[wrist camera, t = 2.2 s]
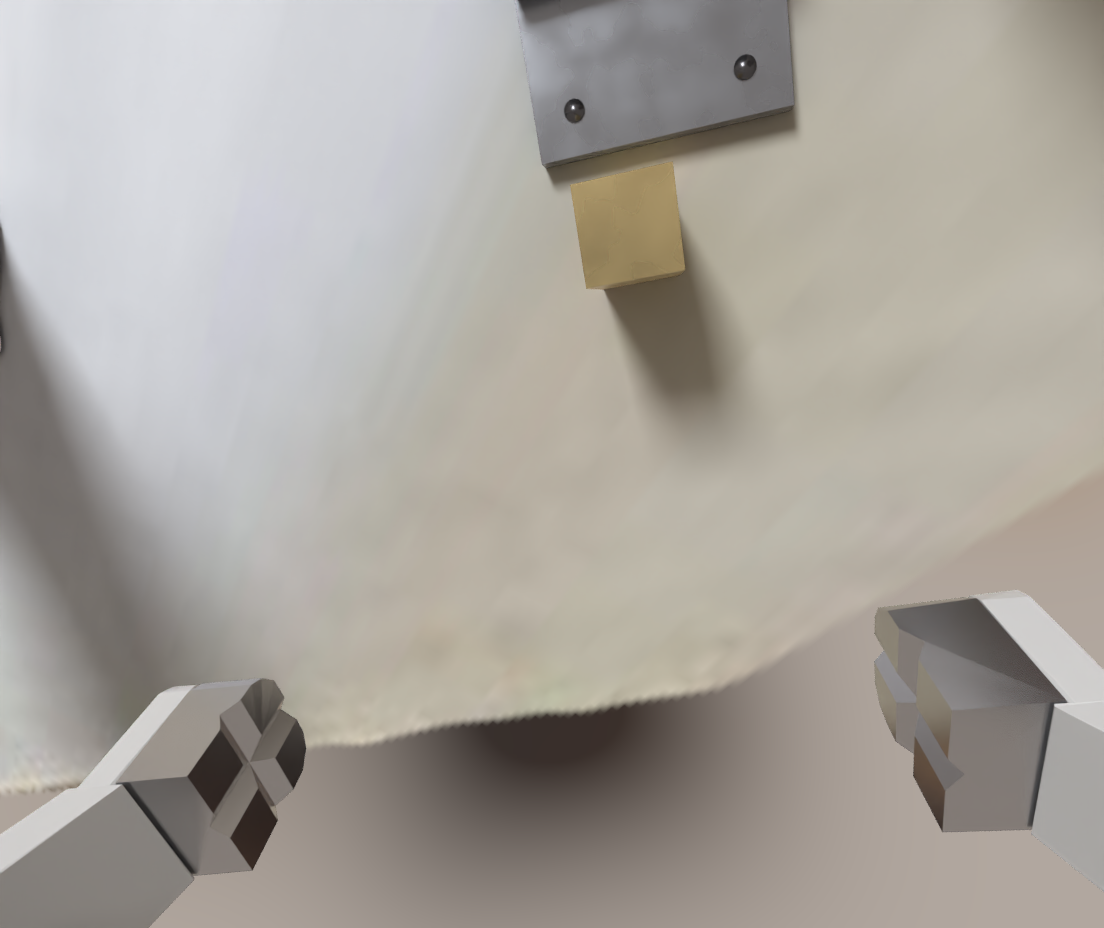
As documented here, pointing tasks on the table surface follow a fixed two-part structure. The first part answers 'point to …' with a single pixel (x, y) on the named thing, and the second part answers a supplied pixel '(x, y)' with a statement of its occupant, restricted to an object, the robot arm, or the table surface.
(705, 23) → the fixed leaf
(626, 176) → the tan wooden block
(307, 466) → the table surface
